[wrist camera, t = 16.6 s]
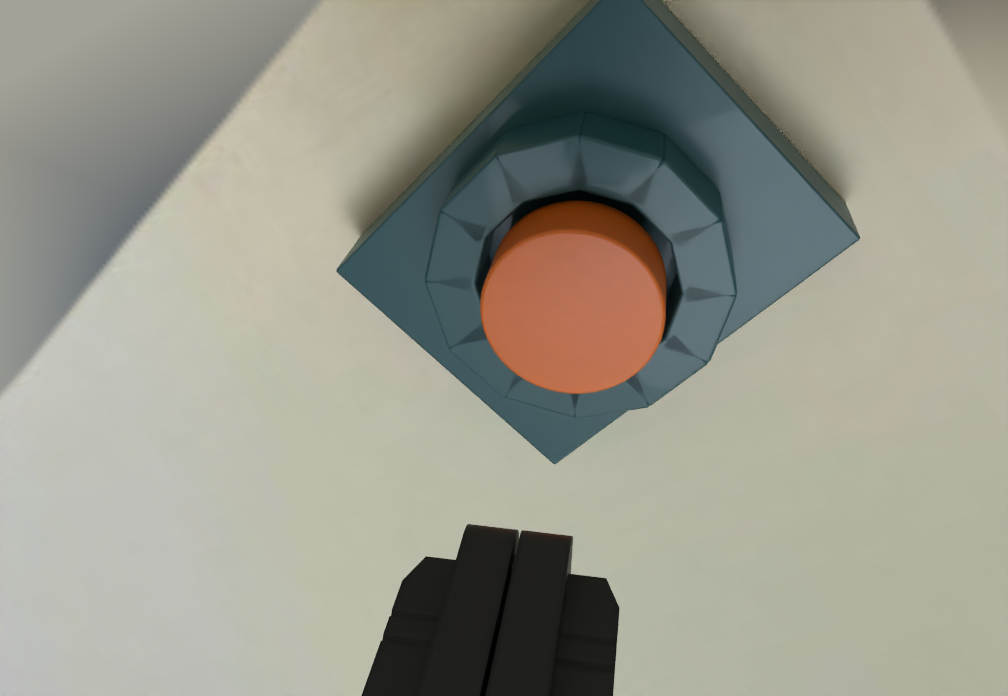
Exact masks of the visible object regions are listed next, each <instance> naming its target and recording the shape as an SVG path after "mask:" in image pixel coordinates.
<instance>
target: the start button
mask: <svg viewBox="0 0 1008 696" xmlns="http://www.w3.org/2000/svg"><path fill="white" fill-rule="evenodd" d="M480 314H481V321H482V325H483V329H484V332H485V335H486V337H487V339H488V342H489V343H490V345H491V347H492V349H493V350H494V352H495V353H496V354H497V356H498V357H499V358H500V360H501V361H502V362H503V363H504V364H505V365H506V366H507V367H508V368H509V369H510V370H512V371H513V372H514V373H515V374H517V375H518V376H520V377H521V378H523V379H524V380H526V381H528V382H530V383H532V384H534V385H536V386H539V387H542V388H545V389H547V390H551V391H556V392H561V393H570V394H583V393H593V392H598V391H602V390H606V389H609V388H611V387H614V386H616V385H618V384H620V383H623V382H625V381H626V380H628V379H629V378H631V377H632V376H634V375H635V374H636V373H637V372H638V371H640V370H641V369H642V368H643V367H644V366H645V365H646V364H647V363H648V361H649V360H650V359H651V358H652V356H653V355H654V353H655V351H656V350H657V348H658V346H659V344H660V341H661V339H662V335H663V332H664V327H665V320H666V272H665V266H664V262H663V259H662V256H661V254H660V252H659V249H658V247H657V245H656V244H655V242H654V241H653V239H652V238H651V236H650V235H649V234H648V233H647V232H646V230H645V229H644V228H643V227H642V226H641V225H640V224H638V223H637V222H636V221H635V220H634V219H632V218H631V217H629V216H628V215H626V214H625V213H623V212H621V211H619V210H617V209H615V208H612V207H610V206H607V205H604V204H600V203H595V202H591V201H580V200H576V201H563V202H556V203H552V204H549V205H546V206H543V207H541V208H538V209H536V210H534V211H532V212H530V213H529V214H527V215H525V216H524V217H523V218H521V219H520V220H519V221H518V222H517V223H515V224H514V226H513V227H512V228H511V229H510V230H509V231H508V232H507V234H506V235H505V236H504V238H503V239H502V241H501V243H500V245H499V247H498V249H497V252H496V254H495V257H494V259H493V262H492V264H491V267H490V269H489V272H488V274H487V277H486V279H485V282H484V285H483V288H482V293H481V299H480Z"/></svg>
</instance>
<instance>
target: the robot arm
mask: <svg viewBox="0 0 1008 696" xmlns="http://www.w3.org/2000/svg"><path fill="white" fill-rule="evenodd" d="M572 544H573V536H566V535H557V534H549V533H540V532H532V531H523V530H522V532H521V534H520V538H519V532H518V530H513V529H504V528H496V527H488V526H479V525H471V524H468V525H467V526H466V528H465V531H464V534H463V538H462V541H461V544H460V548H459V551H458V555H457V558H456V560H450V559H442V558H434V557H425V558H424V559H423V560H422V561H421V562H420V563H419V564H418V565H417V566H416V567H415V568H414V569H413V570H412V571H411V572H410V573H409V574H408V575H407V576H406V577H405V579H404V580H403V581H402V583H401V586H400V589H399V592H398V594H397V597H396V600H395V603H394V606H393V609H392V614H391V616H390V617H389V620H388V623H387V625H386V628H385V631H384V634H383V640H382V641H381V642H380V645H379V648H378V651H377V654H376V657H375V659H374V662H373V665H372V668H371V671H370V673H369V676H368V679H367V682H366V685H365V688H364V690H363V693H362V696H613V687H614V673H615V660H616V645H617V633H618V619H619V606H618V604H617V602H616V599H615V597H614V595H613V593H612V591H611V588H610V586H609V584H608V582H607V579H606V578H598V577H590V576H582V575H574V574H571V559H572Z"/></svg>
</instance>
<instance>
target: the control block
mask: <svg viewBox="0 0 1008 696" xmlns="http://www.w3.org/2000/svg"><path fill="white" fill-rule="evenodd" d="M576 200H580V201H591V202H595V203H600V204H604V205H607V206H610V207H612V208H615V209H617V210H619V211H621V212H623V213H625V214H626V215H628V216H629V217H631V218H632V219H634V220H635V221H636V222H637V223H638V224H640V225H641V226H642V227H643V228H644V229H645V230H646V232H647V233H648V234H649V235H650V236H651V238H652V239H653V241H654V242H655V244H656V245H657V247H658V249H659V252H660V254H661V256H662V259H663V262H664V266H665V272H666V320H665V327H664V332H663V335H662V339H661V341H660V344H659V346H658V348H657V350H656V351H655V353H654V355H653V356H652V358H651V359H650V360H649V361H648V363H647V364H646V365H645V366H644V367H643V368H642V369H641V370H640V371H638V372H637V373H636V374H635V375H634V376H632V377H631V378H629V379H628V380H626V381H625V382H623V383H620V384H618V385H616V386H614V387H611V388H609V389H606V390H602V391H598V392H593V393H583V394H570V393H561V392H556V391H551V390H547V389H545V388H542V387H539V386H536V385H534V384H532V383H530V382H528V381H526V380H524V379H523V378H521V377H520V376H518V375H517V374H515V373H514V372H513V371H512V370H510V369H509V368H508V367H507V366H506V365H505V364H504V363H503V362H502V361H501V360H500V358H499V357H498V356H497V354H496V353H495V352H494V350H493V349H492V347H491V345H490V343H489V342H488V339H487V337H486V335H485V332H484V329H483V325H482V321H481V314H480V299H481V293H482V288H483V285H484V282H485V279H486V277H487V274H488V272H489V269H490V267H491V264H492V262H493V259H494V257H495V254H496V252H497V249H498V247H499V245H500V243H501V241H502V239H503V238H504V236H505V235H506V234H507V232H508V231H509V230H510V229H511V228H512V227H513V226H514V224H515V223H517V222H518V221H519V220H520V219H521V218H523V217H524V216H525V215H527V214H529V213H530V212H532V211H534V210H536V209H538V208H541V207H543V206H546V205H549V204H552V203H556V202H563V201H576ZM859 239H860V236H859V234H858V231H857V229H856V227H855V224H854V222H853V220H852V217H851V215H850V212H849V210H848V208H847V205H846V203H845V202H844V201H843V200H842V199H841V198H840V197H839V195H838V194H837V193H836V192H835V191H834V190H833V189H832V188H831V187H830V186H829V185H828V183H827V182H826V181H825V180H824V179H823V178H822V177H821V176H820V175H819V174H818V172H817V171H816V170H815V169H814V168H813V167H812V166H811V165H810V164H809V163H808V161H807V160H806V159H805V158H804V157H803V156H802V155H801V154H800V153H799V152H798V150H797V149H796V148H795V147H794V146H793V145H792V144H791V143H790V142H789V141H788V140H787V138H786V137H785V136H784V135H783V134H782V133H781V132H780V131H779V130H778V129H777V127H776V126H775V125H774V124H773V123H772V122H771V121H770V120H769V119H768V118H767V116H766V115H765V114H764V113H763V112H762V111H761V110H760V109H759V108H758V107H757V106H756V104H755V103H754V102H753V101H752V100H751V99H750V98H749V97H748V96H747V95H746V93H745V92H744V91H743V90H742V89H741V88H740V87H739V86H738V85H737V84H736V82H735V81H734V80H733V79H732V78H731V77H730V76H729V75H728V74H727V73H726V72H725V70H724V69H723V68H722V67H721V66H720V65H719V64H718V63H717V62H716V61H715V59H714V58H713V57H712V56H711V55H710V54H709V53H708V52H707V51H706V50H705V48H704V47H703V46H702V45H701V44H700V43H699V42H698V41H697V40H696V39H695V37H694V36H693V35H692V34H691V33H690V32H689V31H688V30H687V29H686V28H685V27H684V25H683V24H682V23H681V22H680V21H679V20H678V19H677V18H676V17H675V16H674V14H673V13H672V12H671V11H670V10H669V9H668V8H667V7H666V6H665V5H664V3H663V2H662V1H661V0H590V1H589V2H588V3H587V4H586V5H585V6H584V7H583V8H582V9H581V10H580V11H579V13H578V14H577V15H576V16H575V17H574V18H573V19H572V20H571V21H570V22H569V23H568V24H567V25H566V26H565V27H564V28H563V29H562V30H561V31H560V32H559V33H558V34H557V35H556V36H555V37H554V38H553V39H552V40H551V41H550V42H549V43H548V44H547V45H546V46H545V47H544V49H543V50H542V51H541V52H540V53H539V54H538V55H537V56H536V57H535V58H534V59H533V60H532V61H531V62H530V63H529V64H528V65H527V66H526V67H525V68H524V69H523V70H522V71H521V72H520V73H519V74H518V75H517V76H516V77H515V78H514V79H513V80H512V81H511V82H510V84H509V85H508V86H507V87H506V88H505V89H504V90H503V91H502V92H501V93H500V94H499V95H498V96H497V97H496V98H495V99H494V100H493V101H492V102H491V103H490V104H489V105H488V106H487V107H486V108H485V109H484V110H483V111H482V112H481V113H480V114H479V115H478V116H477V117H476V118H475V120H474V121H473V122H472V123H471V124H470V125H469V126H468V127H467V128H466V129H465V130H464V131H463V132H462V133H461V134H460V135H459V136H458V137H457V138H456V139H455V140H454V141H453V142H452V143H451V144H450V145H449V146H448V147H447V148H446V149H445V150H444V151H443V152H442V153H441V155H440V156H439V157H438V158H437V159H436V160H435V161H434V162H433V163H432V164H431V165H430V166H429V167H428V168H427V169H426V170H425V171H424V172H423V173H422V174H421V175H420V176H419V177H418V178H417V179H416V180H415V181H414V182H413V183H412V184H411V185H410V186H409V187H408V188H407V189H406V191H405V192H404V193H403V194H402V195H401V196H400V197H399V198H398V199H397V200H396V201H395V202H394V203H393V204H392V205H391V206H390V207H389V208H388V209H387V210H386V211H385V212H384V213H383V214H382V215H381V216H380V217H379V218H378V219H377V220H376V221H375V222H374V223H373V224H372V225H371V227H370V228H369V229H368V230H367V231H366V232H365V233H364V234H363V235H362V236H361V237H360V238H359V239H358V241H357V242H356V244H355V245H354V246H353V248H352V249H351V250H350V252H349V253H348V255H347V256H346V257H345V259H344V260H343V261H342V263H341V264H340V266H339V267H338V268H337V273H339V274H340V275H341V276H342V277H343V278H344V279H345V280H346V281H348V282H349V283H350V284H351V285H352V286H353V287H354V288H356V289H357V290H358V291H359V292H360V293H361V294H362V295H363V296H365V297H366V298H367V299H368V300H369V301H370V302H371V303H372V304H374V305H375V306H376V307H377V308H378V309H379V310H380V311H382V312H383V313H384V314H385V315H386V316H387V317H388V318H389V319H391V320H392V321H393V322H394V323H395V324H396V325H397V326H398V327H400V328H401V329H402V330H403V331H404V332H405V333H406V334H407V335H409V336H410V337H411V338H412V339H413V340H414V341H415V342H417V343H418V344H419V345H420V346H421V347H422V348H423V349H424V350H426V351H427V352H428V353H429V354H430V355H431V356H432V357H433V358H435V359H436V360H437V361H438V362H439V363H440V364H441V365H443V366H444V367H445V368H446V369H447V370H448V371H449V372H450V373H452V374H453V375H454V376H455V377H456V378H457V379H458V380H459V381H461V382H462V383H463V384H464V385H465V386H466V387H467V388H468V389H470V390H471V391H472V392H473V393H474V394H475V395H476V396H478V397H479V398H480V399H481V400H482V401H483V402H484V403H485V404H487V405H488V406H489V407H490V408H491V409H492V410H493V411H494V412H496V413H497V414H498V415H499V416H500V417H501V418H502V419H504V420H505V421H506V422H507V423H508V424H509V425H510V426H511V427H513V428H514V429H515V430H516V431H517V432H518V433H519V434H520V435H522V436H523V437H524V438H525V439H526V440H527V441H528V442H530V443H531V444H532V445H533V446H534V447H535V448H536V449H537V450H539V451H540V452H541V453H542V454H543V455H544V456H545V457H546V458H548V459H549V460H550V461H551V462H552V463H553V464H556V463H558V462H559V461H560V460H562V459H563V458H564V457H566V456H567V455H568V454H570V453H571V452H572V451H574V450H575V449H576V448H578V447H579V446H581V445H582V444H583V443H585V442H586V441H587V440H589V439H590V438H591V437H593V436H594V435H595V434H597V433H598V432H599V431H601V430H602V429H604V428H605V427H606V426H608V425H609V424H610V423H612V422H613V421H614V420H616V419H617V418H618V417H620V416H621V415H622V414H624V413H625V412H627V411H628V410H634V409H640V408H647V407H649V405H652V404H653V403H655V402H656V401H658V400H659V399H660V398H662V397H663V396H664V395H666V394H667V393H668V392H670V391H671V390H673V389H674V388H675V387H677V386H678V385H679V384H681V383H682V382H684V381H685V380H686V379H688V378H689V377H690V376H692V375H693V374H694V373H696V372H697V371H699V370H700V369H701V368H703V367H704V366H705V365H707V363H708V362H709V361H710V360H711V358H712V355H713V353H714V351H715V348H716V346H717V344H719V343H720V342H721V341H723V340H724V339H725V338H727V337H728V336H729V335H731V334H732V333H733V332H735V331H736V330H737V329H739V328H740V327H742V326H743V325H744V324H746V323H747V322H748V321H750V320H751V319H752V318H754V317H755V316H756V315H758V314H759V313H760V312H762V311H763V310H765V309H766V308H767V307H769V306H770V305H771V304H773V303H774V302H775V301H777V300H778V299H779V298H781V297H782V296H783V295H785V294H786V293H788V292H789V291H790V290H792V289H793V288H794V287H796V286H797V285H798V284H800V283H801V282H802V281H804V280H805V279H806V278H808V277H809V276H811V275H812V274H813V273H815V272H816V271H817V270H819V269H820V268H821V267H823V266H824V265H825V264H827V263H828V262H829V261H831V260H832V259H834V258H835V257H836V256H838V255H839V254H840V253H842V252H843V251H844V250H846V249H847V248H848V247H850V246H851V245H852V244H854V243H855V242H857V241H858V240H859Z"/></svg>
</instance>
